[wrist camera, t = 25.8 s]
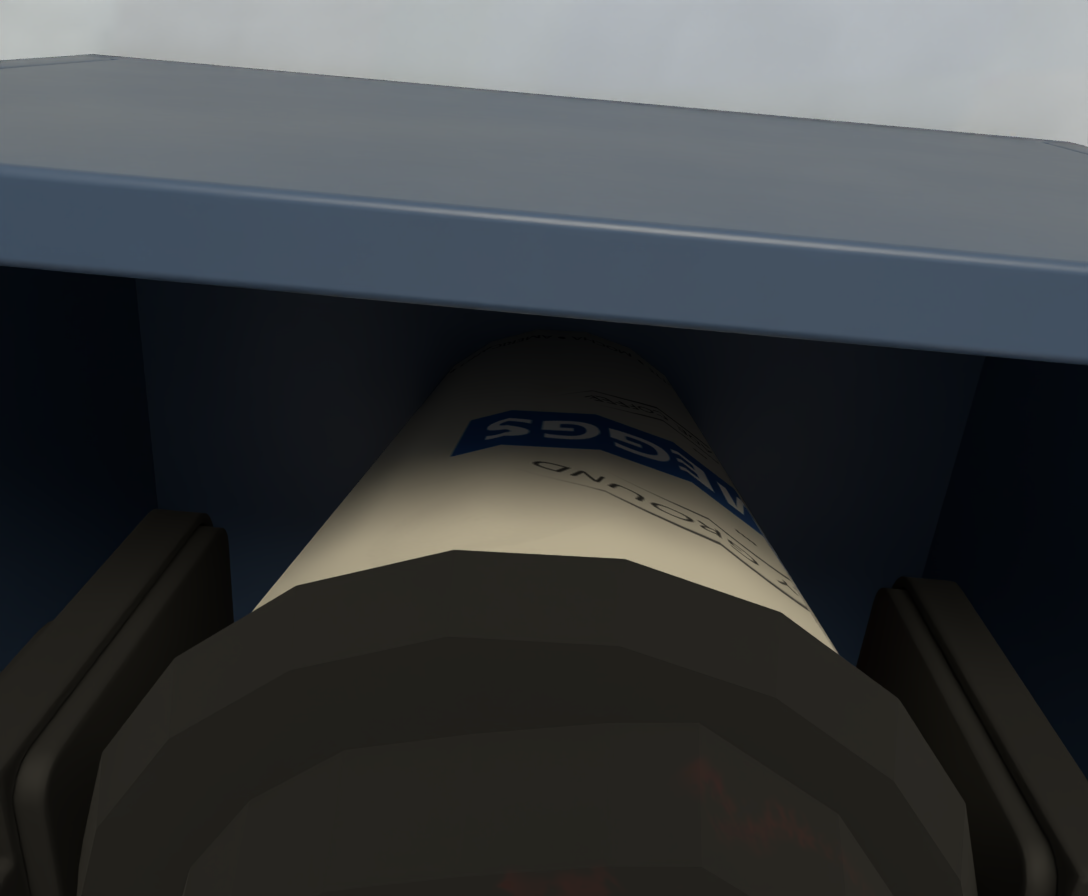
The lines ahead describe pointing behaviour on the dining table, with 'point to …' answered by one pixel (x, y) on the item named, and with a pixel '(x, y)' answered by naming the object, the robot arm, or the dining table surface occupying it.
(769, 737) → the coffee cup
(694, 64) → the dining table surface
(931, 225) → the blue drawer with handle
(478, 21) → the dining table surface
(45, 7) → the dining table surface
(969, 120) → the dining table surface
